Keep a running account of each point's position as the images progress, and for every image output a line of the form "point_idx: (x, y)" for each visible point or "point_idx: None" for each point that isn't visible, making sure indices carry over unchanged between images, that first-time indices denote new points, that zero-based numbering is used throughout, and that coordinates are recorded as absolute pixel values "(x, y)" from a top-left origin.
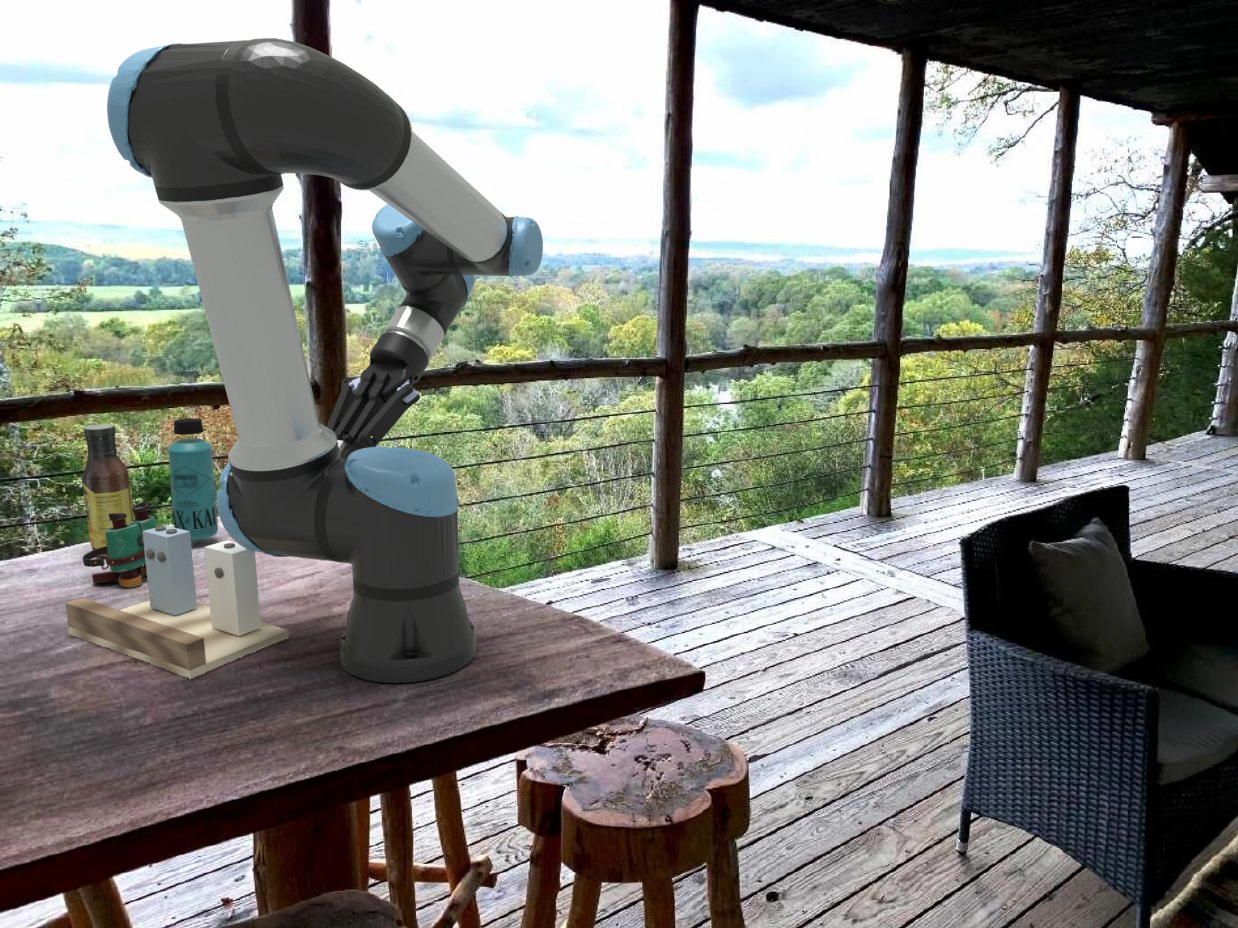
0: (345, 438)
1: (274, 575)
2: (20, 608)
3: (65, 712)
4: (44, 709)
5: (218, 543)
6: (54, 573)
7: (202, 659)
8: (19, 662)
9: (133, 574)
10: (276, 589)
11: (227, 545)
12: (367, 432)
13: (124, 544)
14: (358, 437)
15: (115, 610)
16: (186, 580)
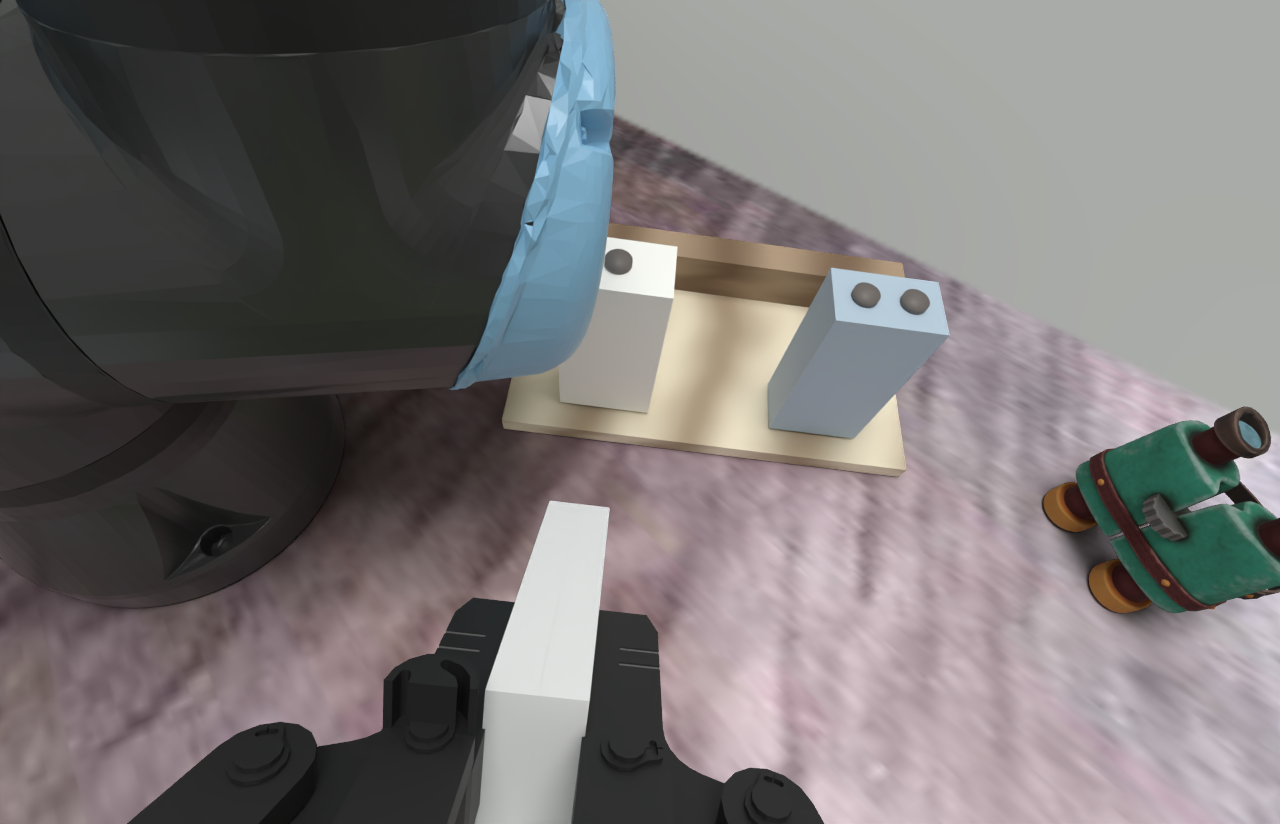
0: (434, 660)
1: (869, 748)
2: (1070, 346)
3: (616, 160)
4: (647, 158)
5: (669, 274)
6: (1269, 495)
7: None
8: (822, 223)
9: (1072, 498)
10: (764, 652)
11: (616, 252)
12: (176, 799)
13: (1136, 453)
14: (308, 735)
15: (789, 268)
16: (790, 375)
